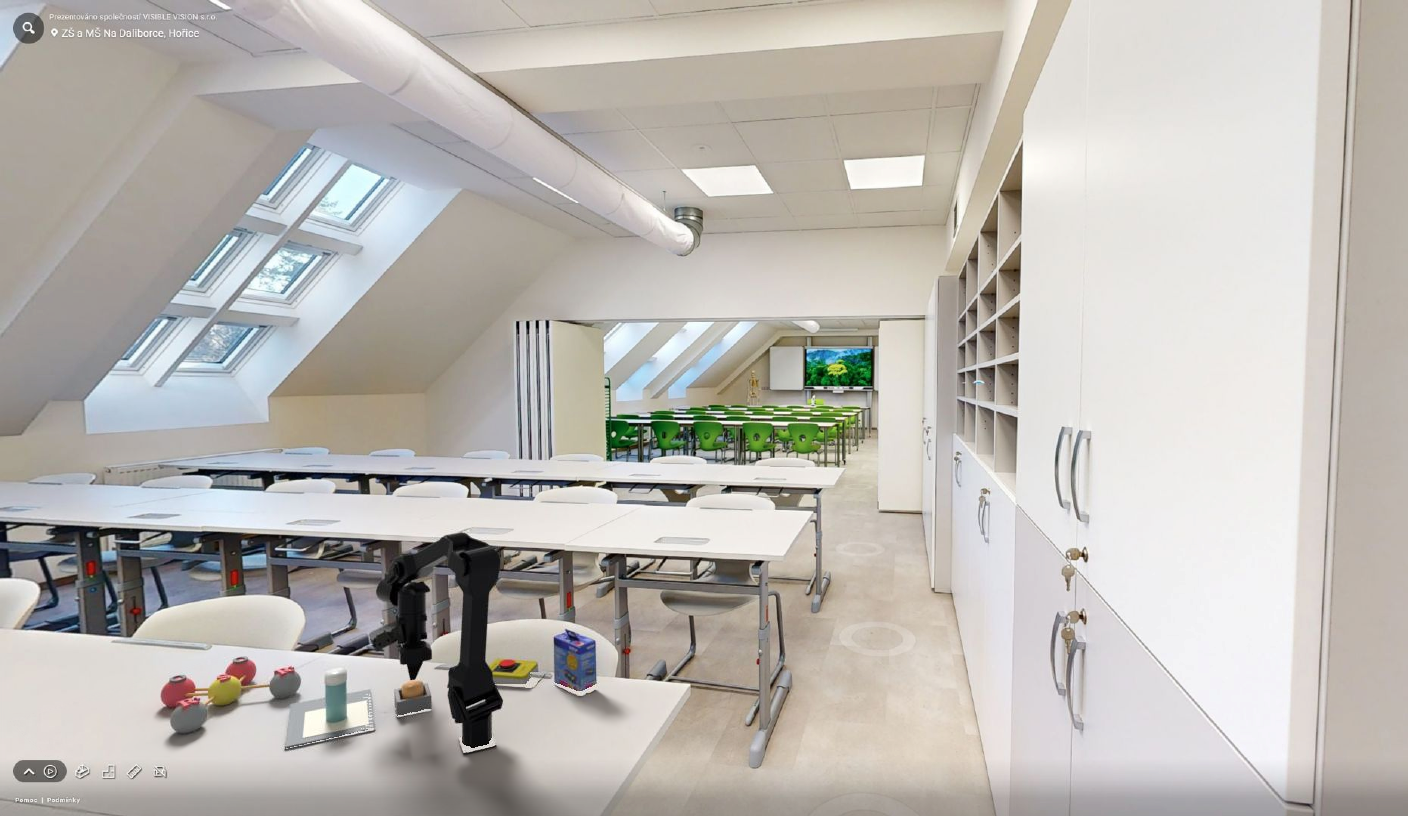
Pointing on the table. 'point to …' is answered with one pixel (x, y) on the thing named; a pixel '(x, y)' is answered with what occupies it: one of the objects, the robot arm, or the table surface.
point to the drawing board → (312, 725)
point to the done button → (412, 689)
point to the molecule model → (220, 692)
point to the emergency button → (512, 671)
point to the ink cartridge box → (574, 661)
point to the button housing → (412, 701)
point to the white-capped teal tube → (336, 695)
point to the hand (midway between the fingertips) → (412, 679)
